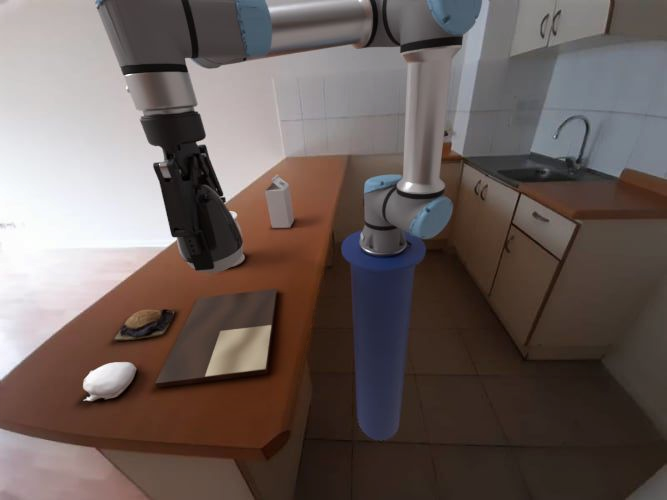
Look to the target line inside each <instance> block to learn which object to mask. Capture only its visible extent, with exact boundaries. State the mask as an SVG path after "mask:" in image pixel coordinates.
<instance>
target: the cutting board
mask: <svg viewBox="0 0 667 500" xmlns="http://www.w3.org/2000/svg"><path fill="white" fill-rule="evenodd" d="M277 299H278V289H277V288H272V289H264V290H254V291H245V292H237V293H236V292H235V293H228V294H218V295H209V296H200V297H197V299H196V301H195V302H194V304H193V306H192V309H191V311H190V313H189V315H188V317H187V319H186V321H185V323H184V324H183V327H182V328H181V330H180V333H179V335H178V337H177V338H176V341H175V343H174V344H173V347H172V349H171V350H170V353H169V354H168V356H167V358H166V360H165V363H164V364H163V366H162V368H161V369H160V370H161V371H160V372H159V374H158V376H157V378H156V380H155V382H154V385H155V386H156V388H157V389H160V388H168V387H175V386H176V387H177V386H184V385H192V384H201V383H208V382H215V381H224V380H232V379H241V378H248V377H254V376H262V375H263V376H264V375H268V371H269V364H270V363H269V362H270V356H271V347H272V338H273V331H274V322H275V315H276V308H277V307H276V306H277V301H278V300H277Z"/></svg>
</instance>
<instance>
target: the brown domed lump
mask: <svg viewBox="0 0 667 500" xmlns="http://www.w3.org/2000/svg"><path fill="white" fill-rule="evenodd" d="M175 314H176V312H175V311H172V310H171V309H166V308H162V309H161V310H158V309H149V308H148V309H141V310H139V311H137V312H134V313H132V314H131V315H130V316H129V317H128V318H127V319H126V320H125V322H124V324H123V325H122V326H120V329H119V331H118V333H116V336H115V337H114V341H115V342H116V341H118V342H119V341H134V340H140V339H141V340H142V339H146V338H147V339H149V338H152V337H159V336H164V334H165V333H166V332H167V329H168V328H169V326H170V323H171V322H172V321H173V318H174V316H175Z"/></svg>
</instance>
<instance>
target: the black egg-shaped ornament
mask: <svg viewBox="0 0 667 500" xmlns="http://www.w3.org/2000/svg"><path fill="white" fill-rule="evenodd" d="M195 196H196V207H197V217H198V228H199V231H200V230H202V231H203V234H204V237H205V240H206V243H207V246H208V249H209V252H210V255H211V258H212V261H213V264H214V268H213V269H209V270H199V271H198V272H199V273H204V274H216V273H221V272H223V271H225V270H228V269H229V268H232V267H231V266H232V265H234V264H235V263H236V261H237V260H238V259H239V257H240V254H241V249H242V244H243V245H244V239H243V240H242V237H243V235H242V236H241V234H240V231H239V229H238V227H237V224H236V222H235V220H234V219H233V217H232V215H231V213H230V212H229V211H230V210H229V208H228V207H227V204H226V203H224V202H223V201H222V199H221V198H220V197H219V196H218V194H217V193H216V192H215V191H214V190H213V189H212V188H210V187H209V186H208V185H206V184H204V183H200V182H198V186H197V187H196V188H195ZM175 238H176V243H177V247H178V251H179V254H180V258H181V259H182V260H183V261H184V262H186V264H187V265H188V266H189V267H191V268H192V269H193V270H195V267H194V265H193V262H192V259H191V257H190V254H189V251H188V249H187V246H186V244H185V241H184V238H183V237H175Z"/></svg>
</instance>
